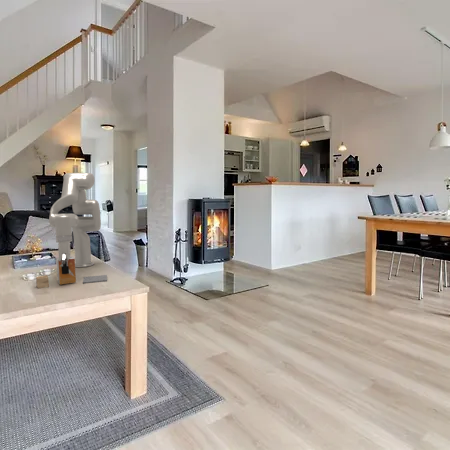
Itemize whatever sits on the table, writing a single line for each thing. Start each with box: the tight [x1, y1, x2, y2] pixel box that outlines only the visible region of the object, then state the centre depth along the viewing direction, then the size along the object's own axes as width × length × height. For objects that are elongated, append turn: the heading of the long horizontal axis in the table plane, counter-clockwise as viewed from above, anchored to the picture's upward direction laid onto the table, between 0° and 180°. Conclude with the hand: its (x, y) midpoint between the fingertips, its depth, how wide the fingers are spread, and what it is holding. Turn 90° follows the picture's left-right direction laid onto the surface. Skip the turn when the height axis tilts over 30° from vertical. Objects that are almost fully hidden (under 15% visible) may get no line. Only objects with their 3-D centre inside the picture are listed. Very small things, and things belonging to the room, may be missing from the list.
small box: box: [55, 256, 77, 286], centre depth 181 cm, size 8×6×13 cm
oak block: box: [35, 275, 50, 289], centre depth 175 cm, size 5×5×5 cm
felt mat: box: [82, 274, 108, 284], centre depth 187 cm, size 12×12×1 cm
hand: (66, 271), depth 181 cm, fingers closed on small box, 7 cm apart
